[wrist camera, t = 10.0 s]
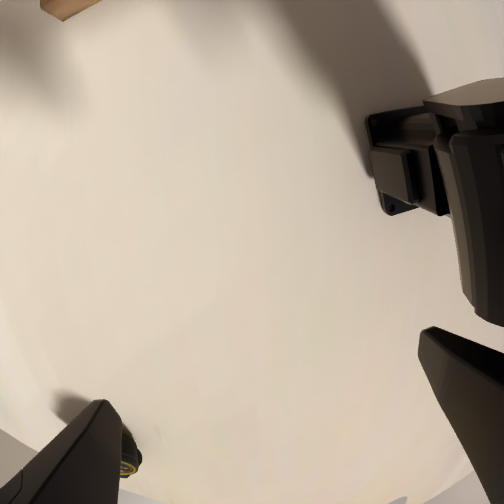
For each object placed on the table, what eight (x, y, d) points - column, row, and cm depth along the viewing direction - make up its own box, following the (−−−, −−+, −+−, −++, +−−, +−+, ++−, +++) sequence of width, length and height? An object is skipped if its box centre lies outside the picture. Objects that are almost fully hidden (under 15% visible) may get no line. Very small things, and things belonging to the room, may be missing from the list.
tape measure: (68, 438, 24) (67, 467, 21) (87, 414, 22) (85, 448, 19) (124, 455, 27) (126, 483, 24) (150, 434, 26) (153, 465, 23)
